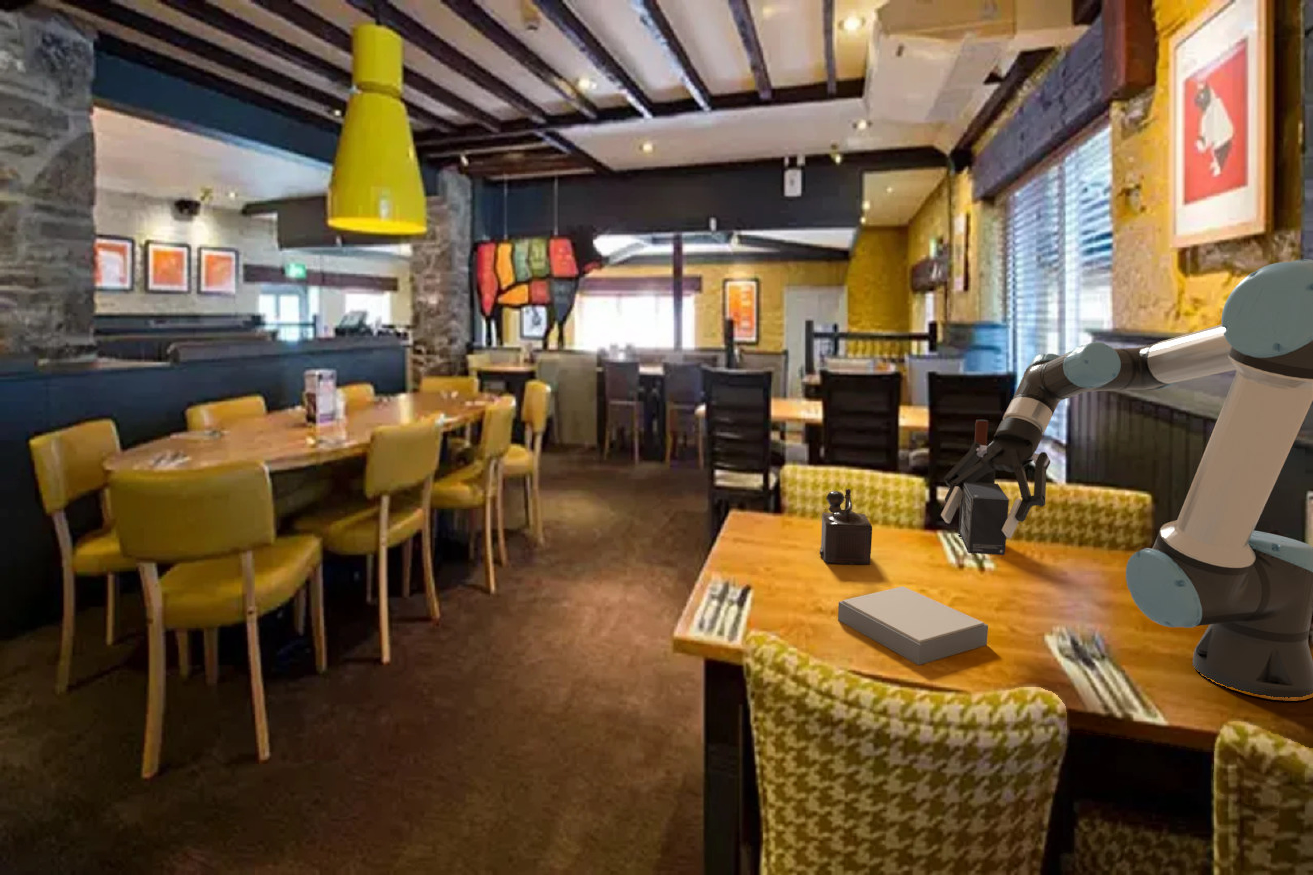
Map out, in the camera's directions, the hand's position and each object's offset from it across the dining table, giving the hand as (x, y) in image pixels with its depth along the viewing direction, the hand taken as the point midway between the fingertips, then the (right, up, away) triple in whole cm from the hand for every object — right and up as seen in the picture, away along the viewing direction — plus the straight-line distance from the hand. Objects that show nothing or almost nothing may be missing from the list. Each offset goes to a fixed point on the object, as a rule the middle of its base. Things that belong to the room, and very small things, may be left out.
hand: (974, 526), depth 131 cm
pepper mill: (-13, -13, +39) cm, 43 cm away
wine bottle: (+24, -10, +55) cm, 60 cm away
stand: (-11, -19, +2) cm, 22 cm away
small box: (+3, -4, +3) cm, 5 cm away
